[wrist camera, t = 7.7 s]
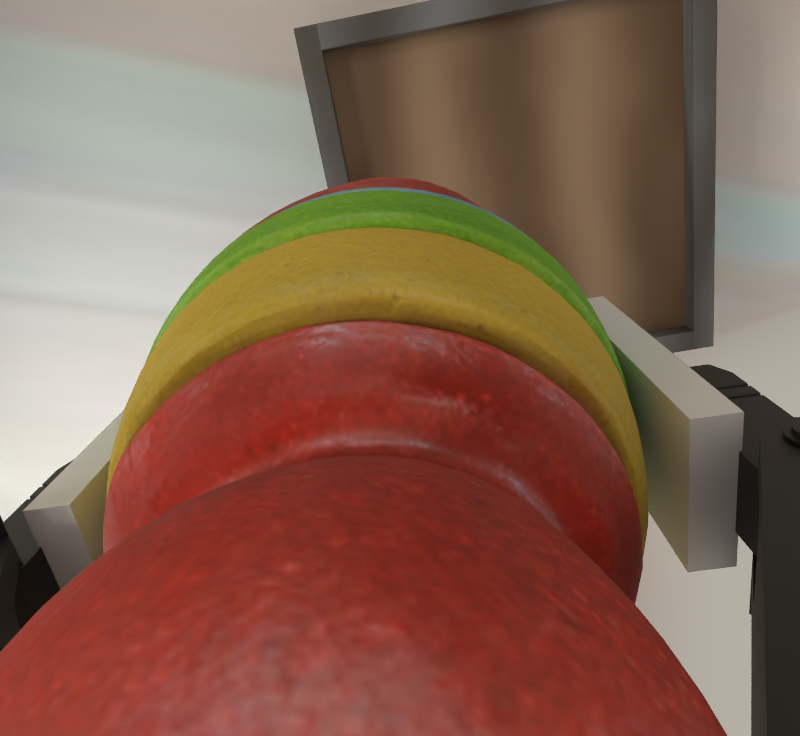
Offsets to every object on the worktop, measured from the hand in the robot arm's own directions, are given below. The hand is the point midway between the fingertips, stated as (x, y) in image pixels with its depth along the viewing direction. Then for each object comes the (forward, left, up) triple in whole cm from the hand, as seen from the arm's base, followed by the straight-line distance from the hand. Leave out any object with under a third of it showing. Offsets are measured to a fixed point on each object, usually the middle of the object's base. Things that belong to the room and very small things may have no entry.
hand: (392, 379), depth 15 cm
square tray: (+7, +2, -20) cm, 22 cm away
